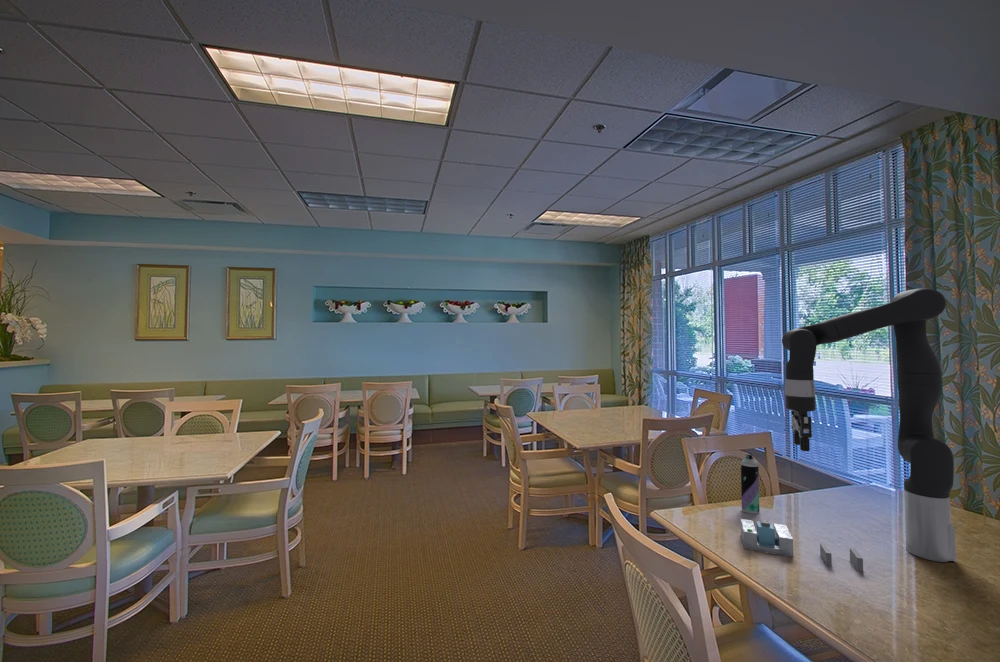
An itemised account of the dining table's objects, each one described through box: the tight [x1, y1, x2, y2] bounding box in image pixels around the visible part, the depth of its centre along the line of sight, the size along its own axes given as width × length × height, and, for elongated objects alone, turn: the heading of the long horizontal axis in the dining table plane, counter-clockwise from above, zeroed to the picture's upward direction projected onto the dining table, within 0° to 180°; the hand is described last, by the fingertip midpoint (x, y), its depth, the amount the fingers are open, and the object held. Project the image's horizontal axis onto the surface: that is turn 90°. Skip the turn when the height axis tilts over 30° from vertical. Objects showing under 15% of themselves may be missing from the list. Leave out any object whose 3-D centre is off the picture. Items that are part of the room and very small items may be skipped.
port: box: [740, 518, 794, 558], centre depth 127 cm, size 12×10×6 cm
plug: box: [756, 519, 776, 546], centre depth 127 cm, size 4×4×7 cm
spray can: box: [740, 453, 760, 515], centre depth 153 cm, size 6×6×20 cm
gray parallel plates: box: [819, 542, 864, 573], centre depth 116 cm, size 8×6×4 cm
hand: (801, 447), depth 131 cm, fingers open, 8 cm apart
